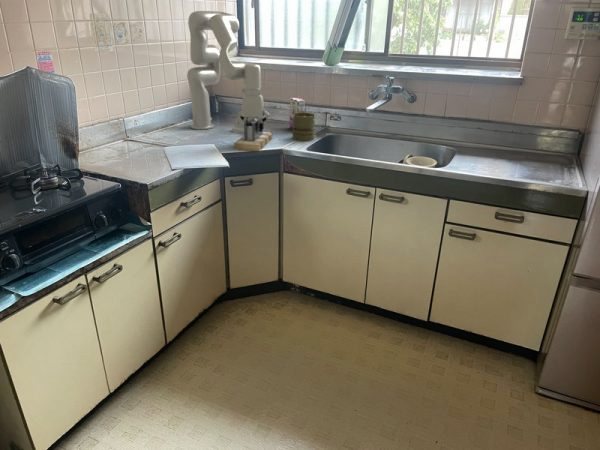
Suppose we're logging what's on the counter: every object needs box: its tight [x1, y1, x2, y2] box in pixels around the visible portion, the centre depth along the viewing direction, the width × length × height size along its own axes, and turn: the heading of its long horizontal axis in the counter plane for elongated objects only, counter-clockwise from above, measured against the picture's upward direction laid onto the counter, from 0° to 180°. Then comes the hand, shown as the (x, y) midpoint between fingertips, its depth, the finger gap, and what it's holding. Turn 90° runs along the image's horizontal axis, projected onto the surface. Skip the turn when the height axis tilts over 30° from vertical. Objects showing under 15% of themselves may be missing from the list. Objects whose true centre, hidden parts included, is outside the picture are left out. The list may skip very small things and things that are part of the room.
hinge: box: [231, 115, 259, 135], centre depth 236 cm, size 17×5×10 cm, turn 52°
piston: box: [291, 112, 316, 142], centre depth 226 cm, size 11×12×11 cm
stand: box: [233, 131, 274, 152], centre depth 216 cm, size 24×12×3 cm, turn 168°
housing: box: [243, 118, 264, 141], centre depth 214 cm, size 5×14×8 cm, turn 168°
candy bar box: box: [289, 97, 307, 130], centre depth 242 cm, size 11×5×16 cm, turn 25°
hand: (254, 130), depth 214 cm, fingers open, 6 cm apart
